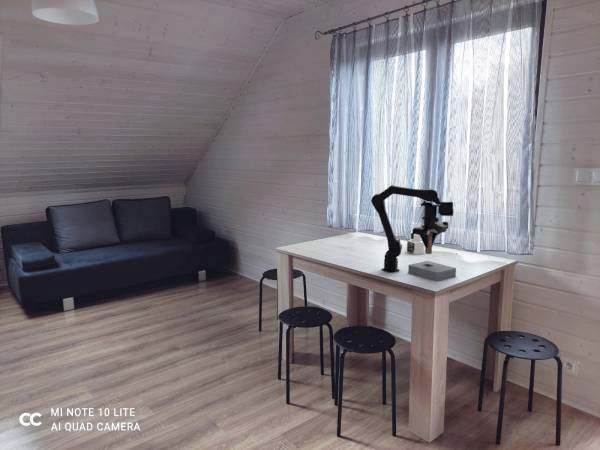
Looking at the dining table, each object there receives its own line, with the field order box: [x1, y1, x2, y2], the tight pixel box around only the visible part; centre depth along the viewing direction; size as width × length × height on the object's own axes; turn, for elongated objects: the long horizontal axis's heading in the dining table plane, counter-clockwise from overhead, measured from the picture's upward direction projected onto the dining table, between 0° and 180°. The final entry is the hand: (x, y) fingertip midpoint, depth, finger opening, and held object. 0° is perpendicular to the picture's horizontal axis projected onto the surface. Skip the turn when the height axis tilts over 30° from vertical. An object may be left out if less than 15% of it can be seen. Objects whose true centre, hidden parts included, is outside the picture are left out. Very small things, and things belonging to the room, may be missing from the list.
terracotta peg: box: [424, 233, 433, 255], centre depth 216 cm, size 3×3×10 cm
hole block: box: [407, 260, 457, 282], centre depth 216 cm, size 14×17×4 cm
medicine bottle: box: [406, 232, 425, 256], centre depth 260 cm, size 7×7×12 cm
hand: (428, 247), depth 216 cm, fingers closed on terracotta peg, 3 cm apart
